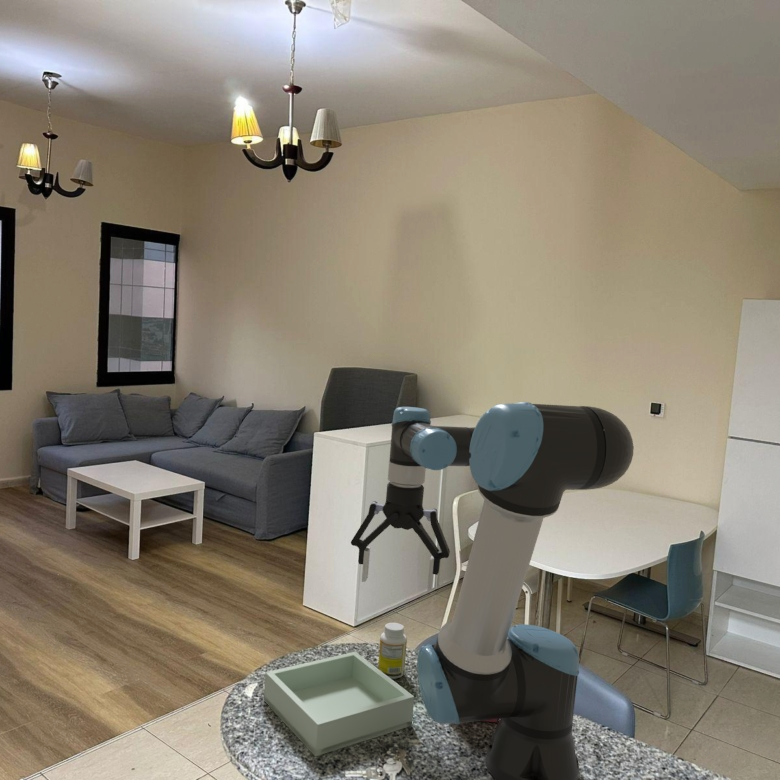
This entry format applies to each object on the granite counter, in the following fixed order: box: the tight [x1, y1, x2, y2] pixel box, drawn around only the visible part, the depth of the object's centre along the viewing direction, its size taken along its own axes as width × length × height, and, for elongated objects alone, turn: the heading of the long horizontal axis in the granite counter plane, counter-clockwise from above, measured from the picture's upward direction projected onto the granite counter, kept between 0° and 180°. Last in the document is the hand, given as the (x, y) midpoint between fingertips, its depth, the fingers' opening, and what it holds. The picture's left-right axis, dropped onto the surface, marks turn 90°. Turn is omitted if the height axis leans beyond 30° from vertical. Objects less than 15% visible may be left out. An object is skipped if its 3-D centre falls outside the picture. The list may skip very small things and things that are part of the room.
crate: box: [263, 651, 415, 757], centre depth 131 cm, size 20×20×6 cm
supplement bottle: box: [377, 622, 408, 680], centre depth 147 cm, size 6×6×10 cm
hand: (396, 584), depth 146 cm, fingers open, 13 cm apart
